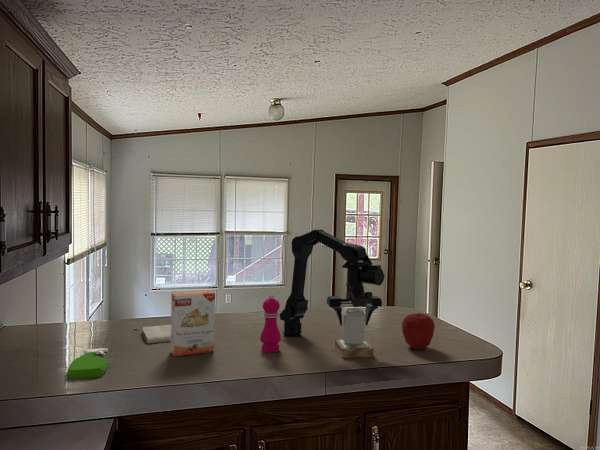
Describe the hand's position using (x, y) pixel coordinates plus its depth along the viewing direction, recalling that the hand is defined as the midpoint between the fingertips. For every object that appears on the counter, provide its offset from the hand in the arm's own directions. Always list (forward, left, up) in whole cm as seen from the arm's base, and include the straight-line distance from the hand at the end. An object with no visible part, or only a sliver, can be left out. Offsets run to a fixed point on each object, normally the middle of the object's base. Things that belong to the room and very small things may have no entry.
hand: (353, 325), depth 165 cm
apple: (+25, +2, -10) cm, 27 cm away
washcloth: (-70, +25, -10) cm, 75 cm away
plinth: (0, -1, -9) cm, 9 cm away
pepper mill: (-29, +4, -10) cm, 31 cm away
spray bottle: (-87, -5, -10) cm, 88 cm away
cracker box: (-56, +4, -10) cm, 57 cm away
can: (0, -1, -6) cm, 6 cm away
